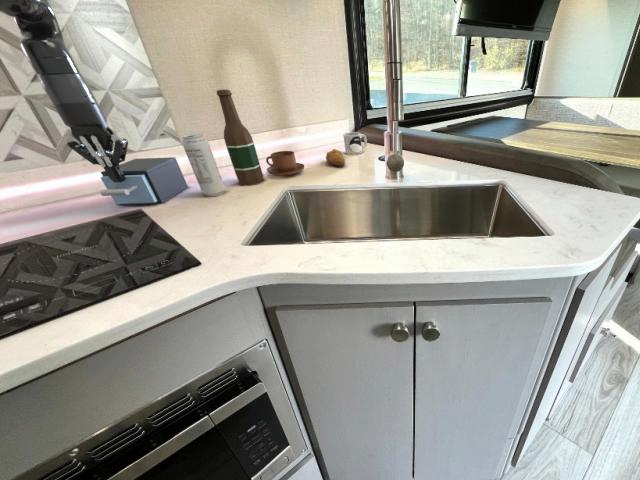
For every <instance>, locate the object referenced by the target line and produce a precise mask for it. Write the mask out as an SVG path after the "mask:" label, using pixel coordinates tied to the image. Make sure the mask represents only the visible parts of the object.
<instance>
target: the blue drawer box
mask: <svg viewBox="0 0 640 480" xmlns="http://www.w3.org/2000/svg"><path fill="white" fill-rule="evenodd" d="M119 166H120V168H121V170H122V172H123V174H145V176H146V178H147V180H148V182H149V184H150V186H151V188H152V189H153V191H154V193H155V195H156V197H157V198H156V199H157V202H155V203H129V204H118V205H119V206H132V205H135V206H136V205H158V204H159V205H161V204H164V203H166V202H167V201H169V200H171V199H172V198H174V197H176V196H177V195H178V194H180V193H181V192H183V191H185V190H187V189H188V188H189V185H188V184H187V181H186V179H185V176H184V174H183V172H182V169H181V167H180V165H179V163H178V160H177V158H176V157H175V156H174V157H173V156H171V157H147V158H146V157H145V158H133V159H131V160H129V161H126V162H122V163H119ZM100 174H101V175H102V177H103V176H108V175H107V173H106V171H105V170H102V171H100Z"/></svg>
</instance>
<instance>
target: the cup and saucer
mask: <svg viewBox="0 0 640 480" xmlns="http://www.w3.org/2000/svg"><path fill="white" fill-rule="evenodd" d="M270 159H271V162H272V163H270V161H269V160H270ZM265 161H266V164H267V166H269V167H267V168H266V172H267V173H268V174H269V175H272V176H275V177H287V176H292V175H297V174H300V173H301V172H302V171H304V169H305V164H304V163H301V162H297V161H296V154H295V152H294V151H292V150H281V151H275V152H272V153H271V154H270V155H268V156H267V157H266V158H265Z"/></svg>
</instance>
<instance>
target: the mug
mask: <svg viewBox="0 0 640 480" xmlns="http://www.w3.org/2000/svg"><path fill="white" fill-rule="evenodd" d="M342 136H343V141H344V144H343V145H344V150H345V151H344V153H345V154H346V155H359V154H362V153H363V149H366V147H368V139H367V135H366V134H363V133H361V132H357V131H351V132H345V133H343V134H342ZM362 138H363V140H364V141H363V142H364V143H362Z"/></svg>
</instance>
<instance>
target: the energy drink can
mask: <svg viewBox="0 0 640 480" xmlns="http://www.w3.org/2000/svg"><path fill="white" fill-rule="evenodd" d="M182 147H183V150H184V152H185V154H186V157H187V159H188V161H189V165H190V166H191V169H192V171H193V174H194V176H195V178H196V181H197V184H198V186H199V188H200V190H201V193H202V194H204V195H205V197H218V196H221V195H223V194H224V193H225V190H226V187H225V185H224V181H223V178H222V176H221V173H220V171H219V167H218V165H217V162H216V159H215V156H214V154H213V151H212V148H211V146H210V143H209V141H208V139H207V138H206V137H205V136H204V134H203V133H193V134H192V133H191V134H186V135H182Z"/></svg>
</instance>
